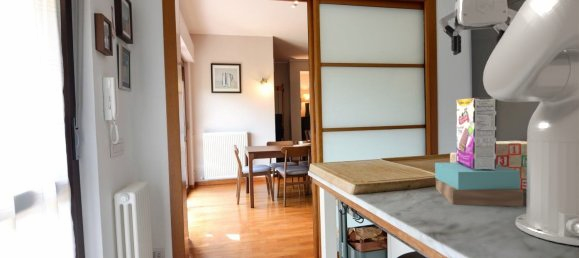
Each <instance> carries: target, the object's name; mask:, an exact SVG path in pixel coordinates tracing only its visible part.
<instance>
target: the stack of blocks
mask: <svg viewBox="0 0 579 258" xmlns="http://www.w3.org/2000/svg"><path fill="white" fill-rule="evenodd" d="M449 158H450V159H449V163H454V162H456V152H450V153H449ZM496 165H500V166H503V167H507V168H510V169H514V170H518V171H520V190H523V191H527V140H525V141H524V140H522V141H521V140H506V141H504V140H499V141H497V140H496Z"/></svg>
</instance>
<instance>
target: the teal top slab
mask: <svg viewBox="0 0 579 258" xmlns="http://www.w3.org/2000/svg"><path fill="white" fill-rule="evenodd" d="M434 169H435V170H434V172H435V173H434V178H435V180H436V179H438V180H440V181H442V182H444V183H446V184H448V185H450V186H452V187H454V188H456V189H458V190H491V189H520V171H518V170H514V169H510V168H507V167H503V166H500V165H496V170H473V169H471V168H469V167H466V166H464V165H462V164H460V163H458V162H454V163H450V162H434Z"/></svg>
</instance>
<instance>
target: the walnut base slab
mask: <svg viewBox="0 0 579 258" xmlns="http://www.w3.org/2000/svg"><path fill="white" fill-rule="evenodd" d="M435 190H436V191H438V193H439V194H440V195H442V196H443V197H444V198H445V199H447V201H449V202H450V204H452V205H454V206H455V205H457V206H458V205H460V206H462V205H463V206H465V205H466V206H492V207H493V206H495V207H497V206H502V207H524V190H520V189H491V190H458V189H456V188H454V187H452V186H450V185H448V184H446V183H444V182H442V181H440V180H438V179H436V178H435Z"/></svg>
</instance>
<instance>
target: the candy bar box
mask: <svg viewBox="0 0 579 258" xmlns="http://www.w3.org/2000/svg"><path fill="white" fill-rule="evenodd" d="M455 101H456V117H455V118H456V119H455V120H456V152H455V153H456V162H458V163H460V164H462V165H464V166H466V167H469V168H471V169H473V170H496V141H497V101H498V100H497V99H495V98H493V97H472V98H460V99H456V100H455Z"/></svg>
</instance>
